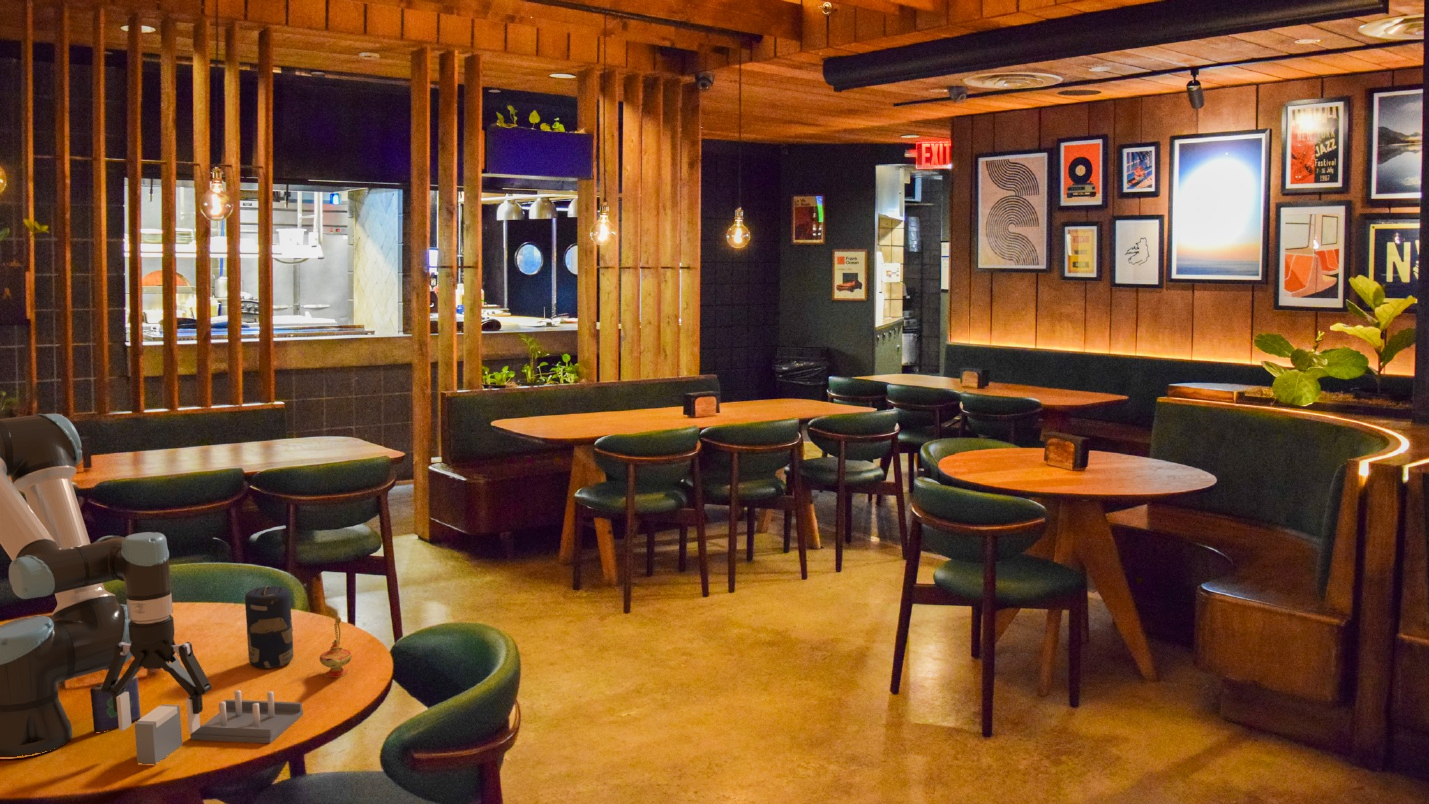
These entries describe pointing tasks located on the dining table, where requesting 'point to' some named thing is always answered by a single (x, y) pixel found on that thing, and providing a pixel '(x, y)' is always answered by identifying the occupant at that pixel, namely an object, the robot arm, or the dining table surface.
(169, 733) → the block
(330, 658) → the magic lamp
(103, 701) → the flask
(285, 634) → the canister
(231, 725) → the grey pegged base
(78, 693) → the dining table surface
